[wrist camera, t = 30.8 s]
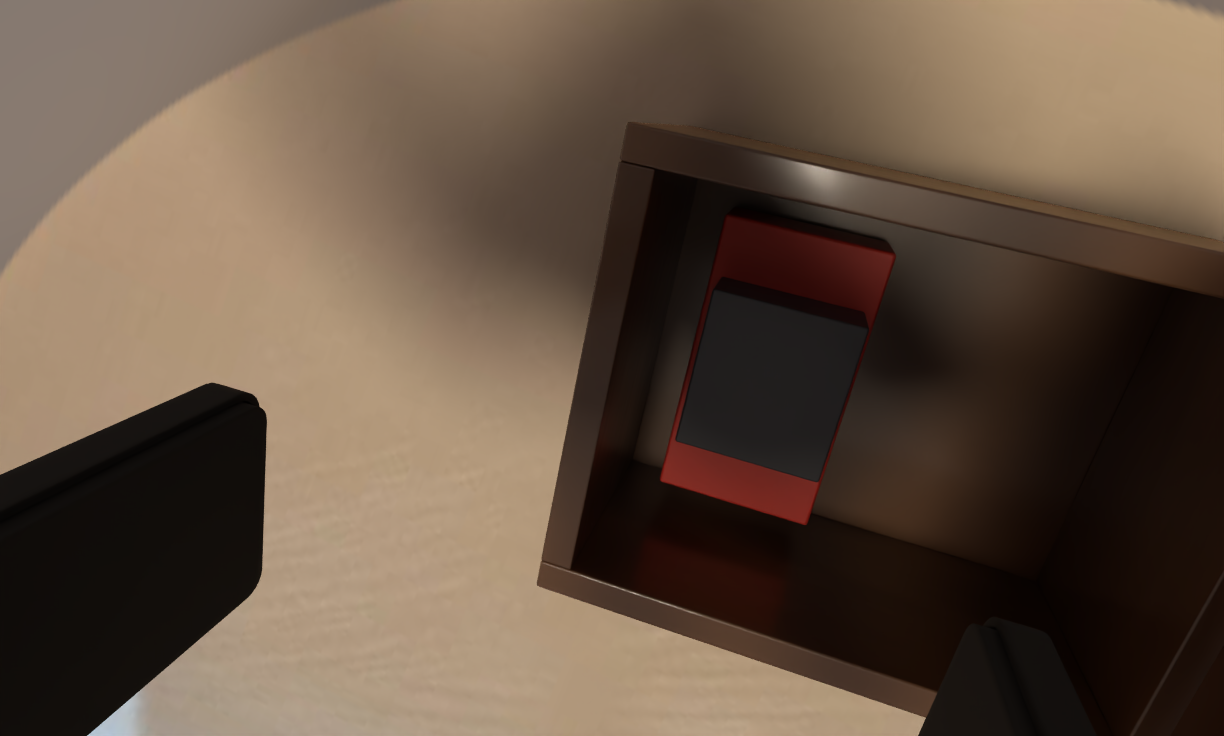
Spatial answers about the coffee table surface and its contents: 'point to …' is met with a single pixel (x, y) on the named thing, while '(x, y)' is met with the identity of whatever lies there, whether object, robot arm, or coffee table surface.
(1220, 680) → the lid
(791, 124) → the coffee table surface
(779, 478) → the car
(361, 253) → the coffee table surface
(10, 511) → the robot arm
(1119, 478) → the chest
